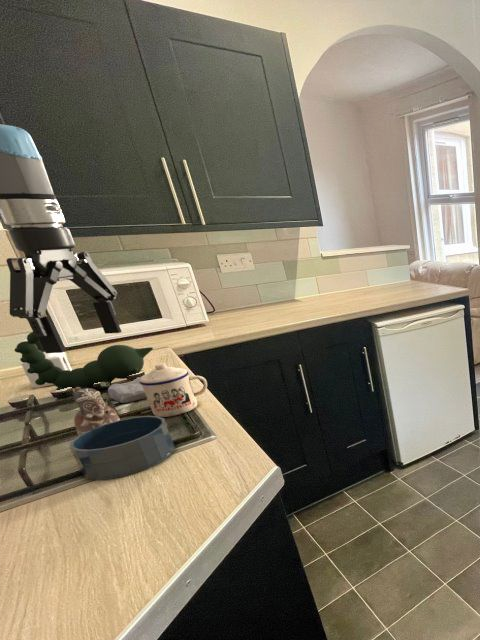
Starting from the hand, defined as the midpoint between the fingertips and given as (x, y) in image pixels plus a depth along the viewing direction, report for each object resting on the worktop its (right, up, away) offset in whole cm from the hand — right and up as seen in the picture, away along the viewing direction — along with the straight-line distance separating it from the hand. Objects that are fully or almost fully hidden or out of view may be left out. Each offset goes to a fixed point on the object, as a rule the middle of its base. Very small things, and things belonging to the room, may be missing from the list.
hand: (87, 342), depth 82 cm
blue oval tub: (+10, -23, -2) cm, 25 cm away
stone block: (-14, -11, +29) cm, 34 cm away
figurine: (-1, -20, +5) cm, 21 cm away
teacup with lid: (+3, -14, +20) cm, 25 cm away
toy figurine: (-30, -9, +34) cm, 46 cm away
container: (-50, -8, +40) cm, 64 cm away
